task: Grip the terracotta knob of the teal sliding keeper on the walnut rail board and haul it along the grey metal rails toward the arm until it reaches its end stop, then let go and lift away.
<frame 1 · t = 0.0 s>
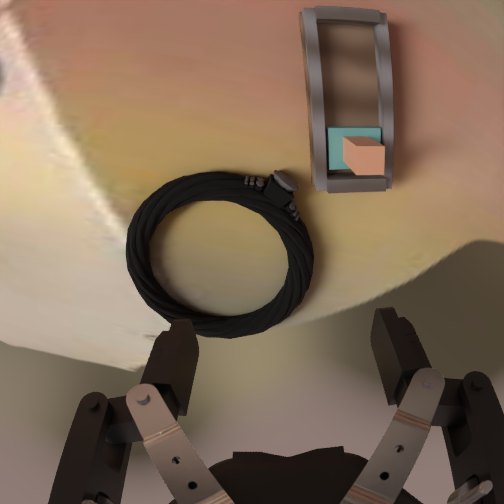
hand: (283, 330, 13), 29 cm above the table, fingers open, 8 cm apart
cable lock: (222, 253, 46), on the table
rail board: (346, 97, 34), on the table
keeper: (360, 152, 32), point 5 cm above the table, slide at 0.0 cm
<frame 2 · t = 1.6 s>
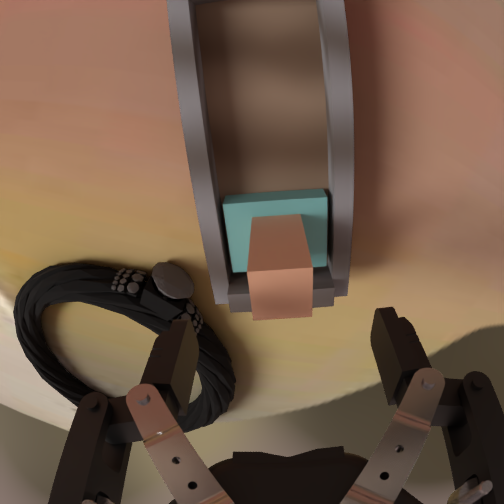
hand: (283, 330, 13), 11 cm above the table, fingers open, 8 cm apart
cable lock: (123, 350, 33), on the table
rail board: (269, 135, 20), on the table
keeper: (278, 254, 18), point 5 cm above the table, slide at 0.0 cm
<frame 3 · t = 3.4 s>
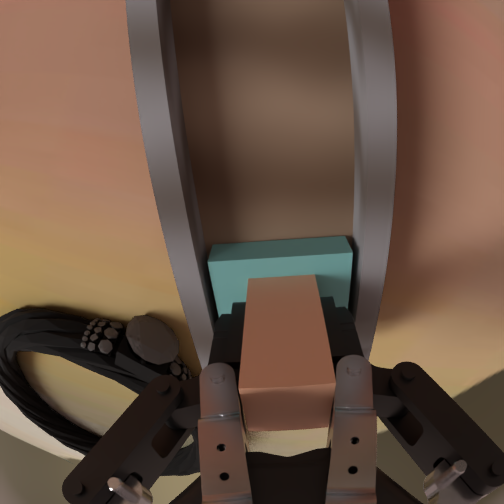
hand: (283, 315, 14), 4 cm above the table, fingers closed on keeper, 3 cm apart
cable lock: (106, 395, 27), on the table
rail board: (273, 160, 15), on the table
keeper: (284, 335, 13), point 5 cm above the table, slide at 0.0 cm, touching gripper
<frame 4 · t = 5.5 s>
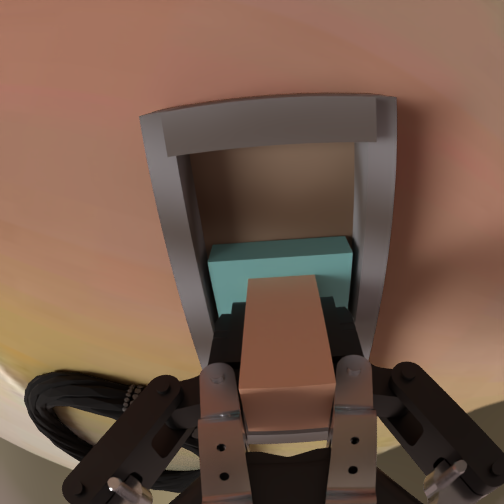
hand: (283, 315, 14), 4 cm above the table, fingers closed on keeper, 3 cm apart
cable lock: (133, 431, 31), on the table
rail board: (282, 292, 19), on the table
keeper: (284, 335, 13), point 5 cm above the table, slide at 7.8 cm, touching gripper
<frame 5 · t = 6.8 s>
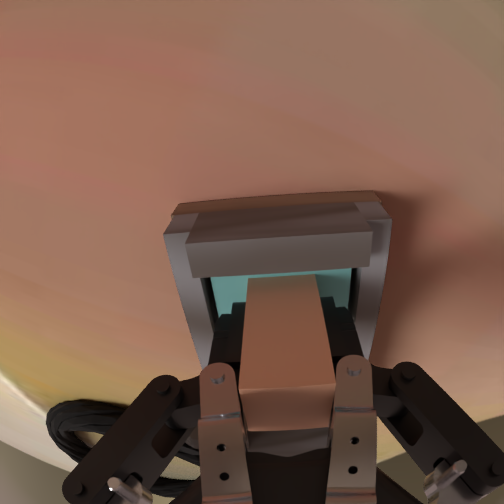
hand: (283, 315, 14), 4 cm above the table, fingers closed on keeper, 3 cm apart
cable lock: (148, 447, 34), on the table
rail board: (284, 348, 21), on the table
keeper: (284, 334, 13), point 5 cm above the table, slide at 12.9 cm, touching gripper
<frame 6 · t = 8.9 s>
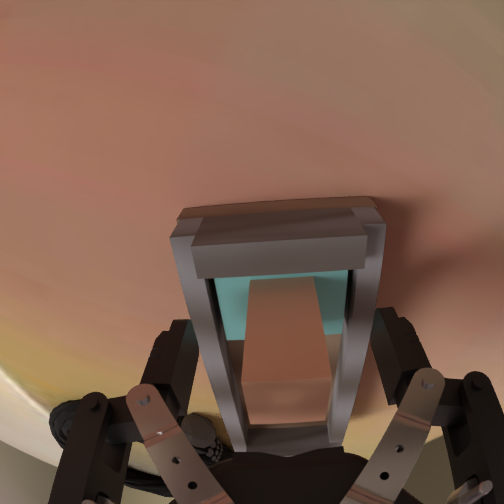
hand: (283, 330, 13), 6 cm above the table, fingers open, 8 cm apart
cable lock: (150, 447, 34), on the table
rail board: (284, 348, 22), on the table
keeper: (284, 333, 14), point 5 cm above the table, slide at 12.8 cm
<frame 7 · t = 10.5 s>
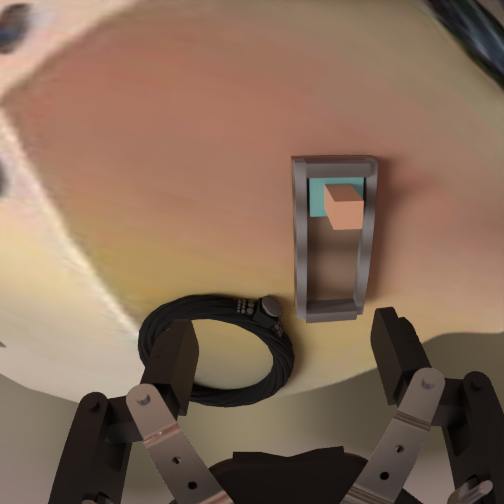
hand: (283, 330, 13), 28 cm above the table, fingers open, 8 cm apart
cable lock: (219, 348, 53), on the table
rail board: (330, 236, 41), on the table
keeper: (340, 202, 33), point 5 cm above the table, slide at 12.8 cm
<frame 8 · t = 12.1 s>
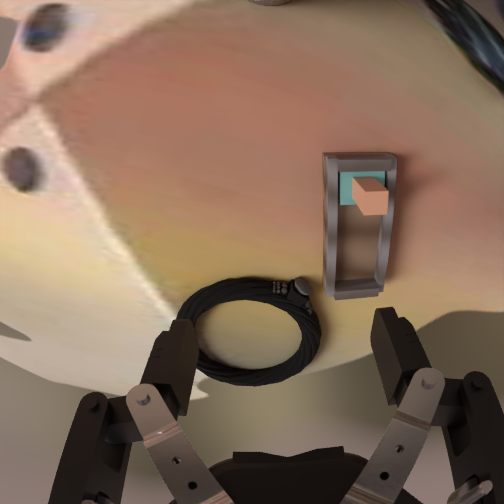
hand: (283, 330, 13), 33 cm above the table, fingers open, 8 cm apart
cable lock: (251, 329, 59), on the table
rail board: (355, 222, 46), on the table
keeper: (367, 192, 38), point 5 cm above the table, slide at 12.8 cm
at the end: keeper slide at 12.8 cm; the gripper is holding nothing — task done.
